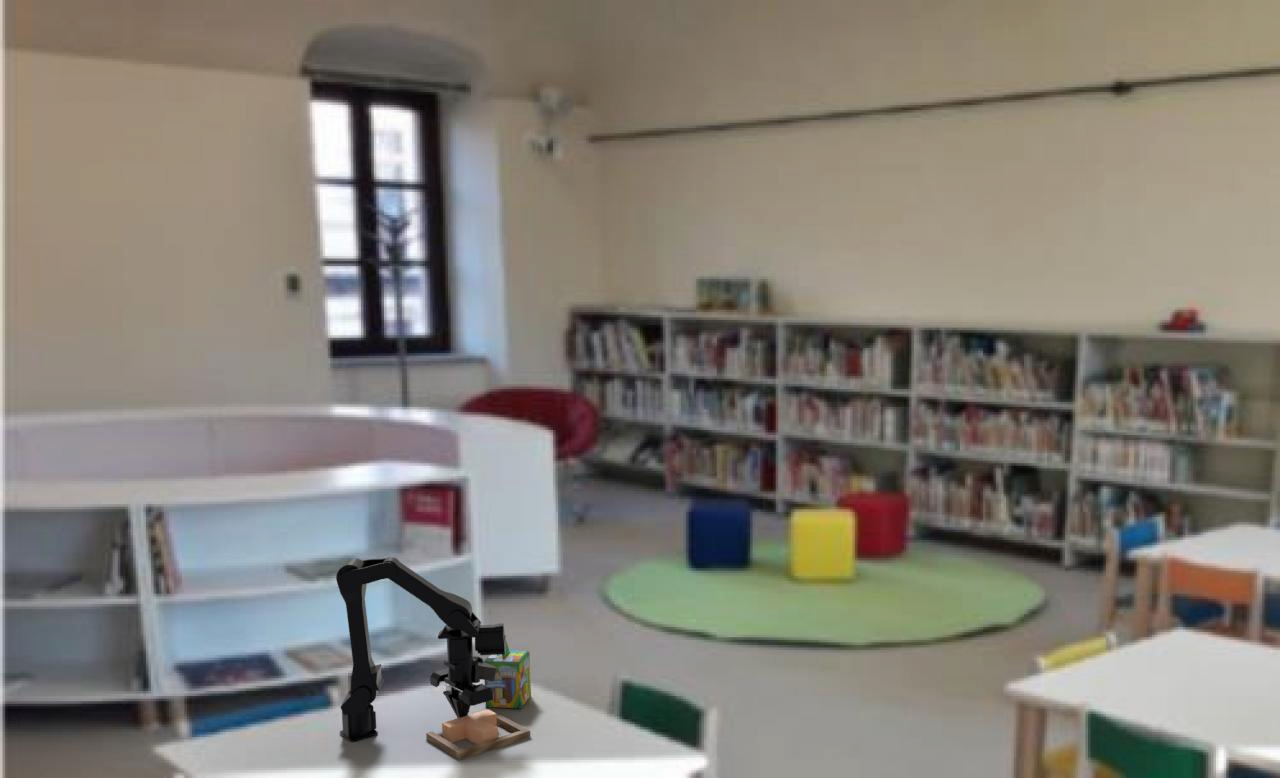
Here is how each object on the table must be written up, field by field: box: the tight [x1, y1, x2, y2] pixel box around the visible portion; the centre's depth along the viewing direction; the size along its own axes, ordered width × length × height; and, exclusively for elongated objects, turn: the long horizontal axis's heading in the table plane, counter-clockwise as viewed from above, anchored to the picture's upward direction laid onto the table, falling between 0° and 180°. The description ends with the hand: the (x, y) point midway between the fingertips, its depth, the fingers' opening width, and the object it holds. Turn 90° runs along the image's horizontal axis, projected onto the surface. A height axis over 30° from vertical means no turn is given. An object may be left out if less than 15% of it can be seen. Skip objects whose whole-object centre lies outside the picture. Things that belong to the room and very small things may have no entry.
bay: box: [425, 711, 531, 761], centre depth 249 cm, size 18×14×2 cm
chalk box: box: [483, 641, 532, 709], centre depth 270 cm, size 9×9×15 cm
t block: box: [441, 708, 499, 745], centre depth 250 cm, size 12×10×4 cm
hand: (462, 722), depth 255 cm, fingers closed
